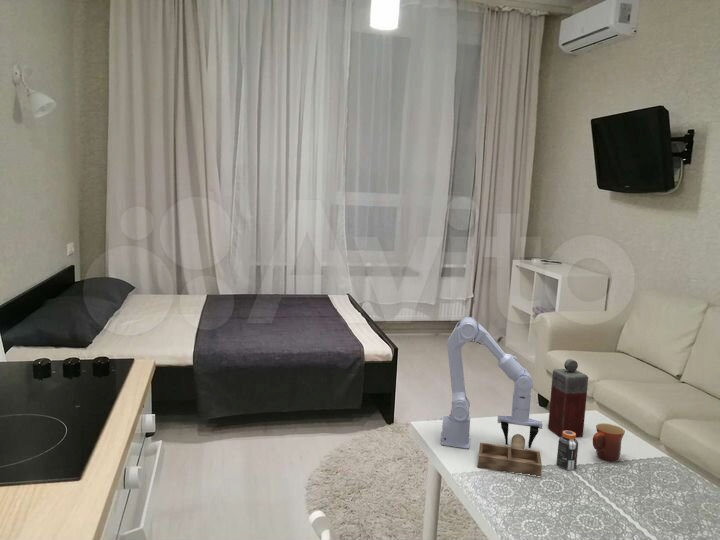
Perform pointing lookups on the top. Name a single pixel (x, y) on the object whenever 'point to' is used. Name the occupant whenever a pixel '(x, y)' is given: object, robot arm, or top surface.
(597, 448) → the mug
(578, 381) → the red grey square bottle
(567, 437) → the pill bottle
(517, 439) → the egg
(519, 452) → the walnut holder
